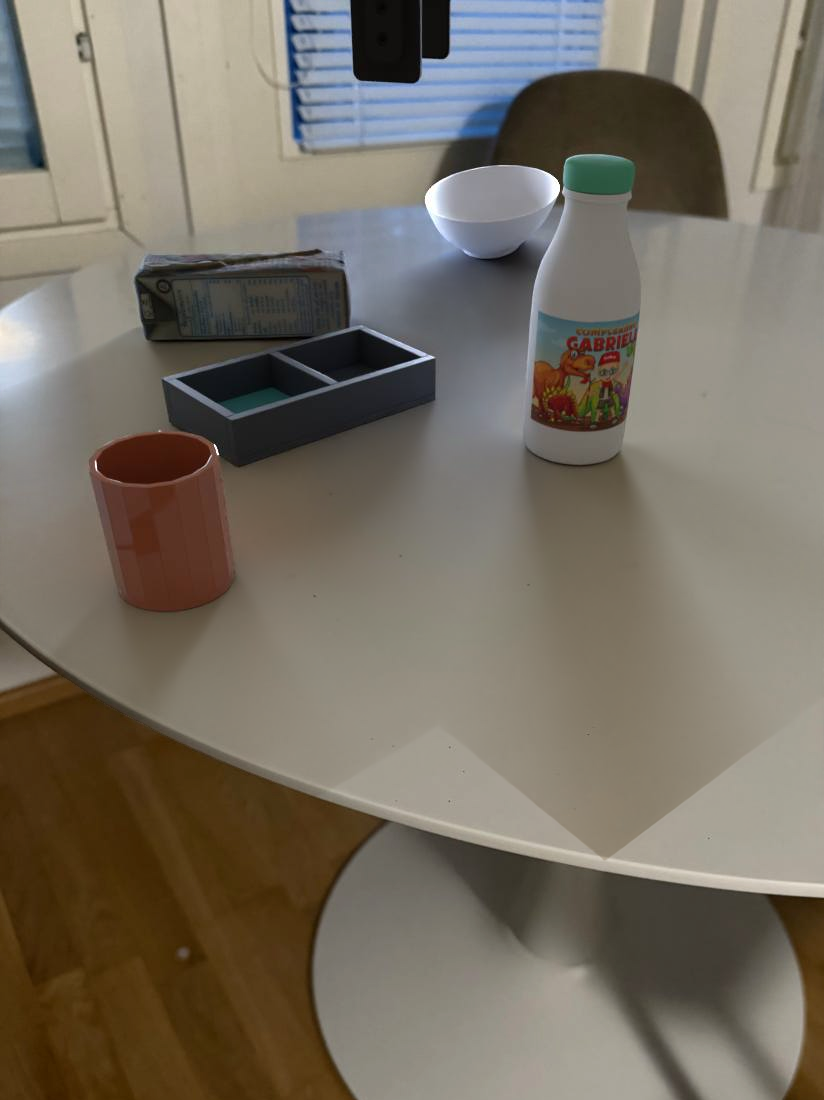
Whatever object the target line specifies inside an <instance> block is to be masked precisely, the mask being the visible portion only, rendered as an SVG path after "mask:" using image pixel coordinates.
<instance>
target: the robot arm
mask: <svg viewBox="0 0 824 1100" xmlns="http://www.w3.org/2000/svg"><path fill="white" fill-rule="evenodd" d="M349 7H350V31H351V32H350V34H351V54H352V55H351V57H352V58H351V59H352V73H353V76H354V77H355V79H356V80H357V81H360V82H370V83H371V82H372V83H389V84H390V83H391V84H409V85H410V84H411V85H414V84H416V83H418V82H419V81H420V80H421V78H422V75H423V60H424V59H426V60H445V59H447V58H448V57H449V56H450V54H451V29H452V28H451V25H452V24H451V20H452V19H451V18H452V17H451V16H452V15H451V14H452V0H349Z"/></svg>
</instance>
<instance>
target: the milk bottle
mask: <svg viewBox="0 0 824 1100" xmlns="http://www.w3.org/2000/svg"><path fill="white" fill-rule="evenodd" d="M635 175H636V165H635V163H634V162H633V161H631V160H630V159H627V158H624V157H621V156H616V155H609V154H596V153H594V154H593V153H591V154H589V153H587V154H578V155H577V154H576V155H573V156H570V157H568V158H566V159H565V162H564V165H563V173H562V183H563V189H562V191H561V194H562V196H563V197H564V207H563V210H562V214H561V218H560V221H559V223H558V226H557V229H556V231H555V233H554V235H553V238H552V240H551V242H550V244H549V246H548V247H547V249H546V252H545V254H544V255H543V257H542V259H541V262H540V265H539V268H538V269H537V274H536V278H535V281H534V286H533V291H532V300H531V307H530V308H531V309H530V320H529V333H528V344H527V345H528V347H527V359H526V376H525V391H524V406H523V419H522V420H523V421H522V427H523V428H522V439H523V441H524V444H525V446H526V448H527V449H528V450H529V451H530V452H531V453H533V454H534V455H535V456H537V457H540V458H542V459H544V460H548V461H550V462H552V463H553V462H554V463H559V464H563V465H575V466H576V465H577V466H582V465H593V464H599V463H602V462H605V461H608V460H610V459H612V458H614V457H615V456H616V455H617V454H618V452H620V450H621V448H622V446H623V443H624V438H625V430H626V424H627V417H628V410H629V402H630V395H631V387H632V381H633V380H632V379H633V372H634V364H635V357H636V348H637V340H638V332H639V323H640V313H641V302H642V284H641V283H642V282H641V274H640V269H639V268H640V267H639V264H638V261H637V257H636V254H635V251H634V248H633V244H632V241H631V240H632V239H631V236H630V229H629V223H628V204H629V201H630V200H632V198H633V195H632V192H633V191H632V190H633V188H634V185H635V184H634V183H635Z"/></svg>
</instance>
